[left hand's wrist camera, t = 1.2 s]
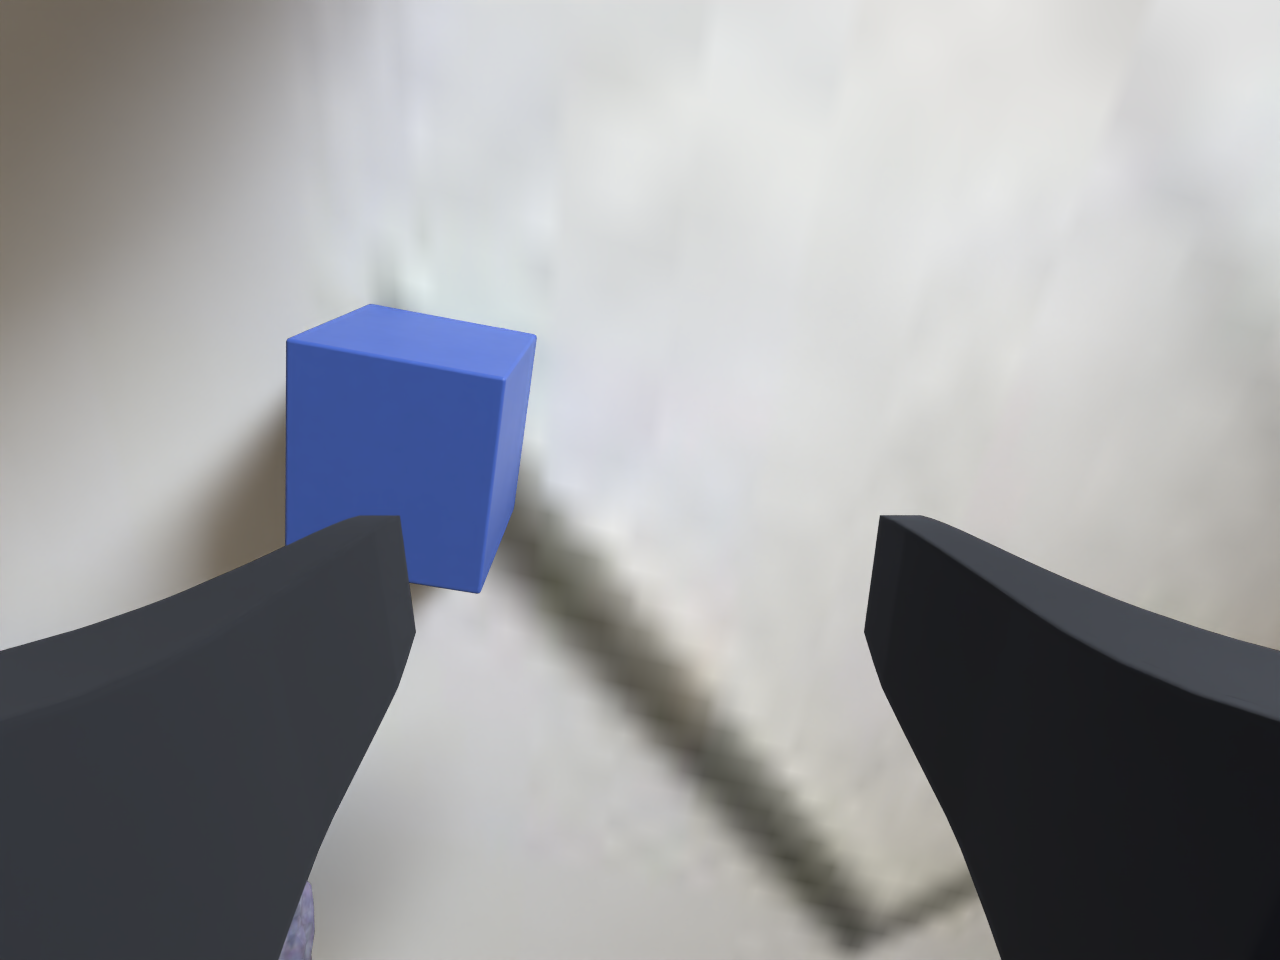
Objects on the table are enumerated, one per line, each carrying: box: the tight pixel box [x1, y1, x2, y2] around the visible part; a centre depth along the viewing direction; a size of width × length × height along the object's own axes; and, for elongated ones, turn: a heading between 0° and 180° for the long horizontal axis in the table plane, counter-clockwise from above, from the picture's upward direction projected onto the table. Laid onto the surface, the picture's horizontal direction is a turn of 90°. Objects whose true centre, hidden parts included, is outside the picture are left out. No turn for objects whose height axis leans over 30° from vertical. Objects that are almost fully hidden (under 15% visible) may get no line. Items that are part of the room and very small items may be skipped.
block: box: [285, 304, 537, 594], centre depth 18 cm, size 4×5×5 cm
